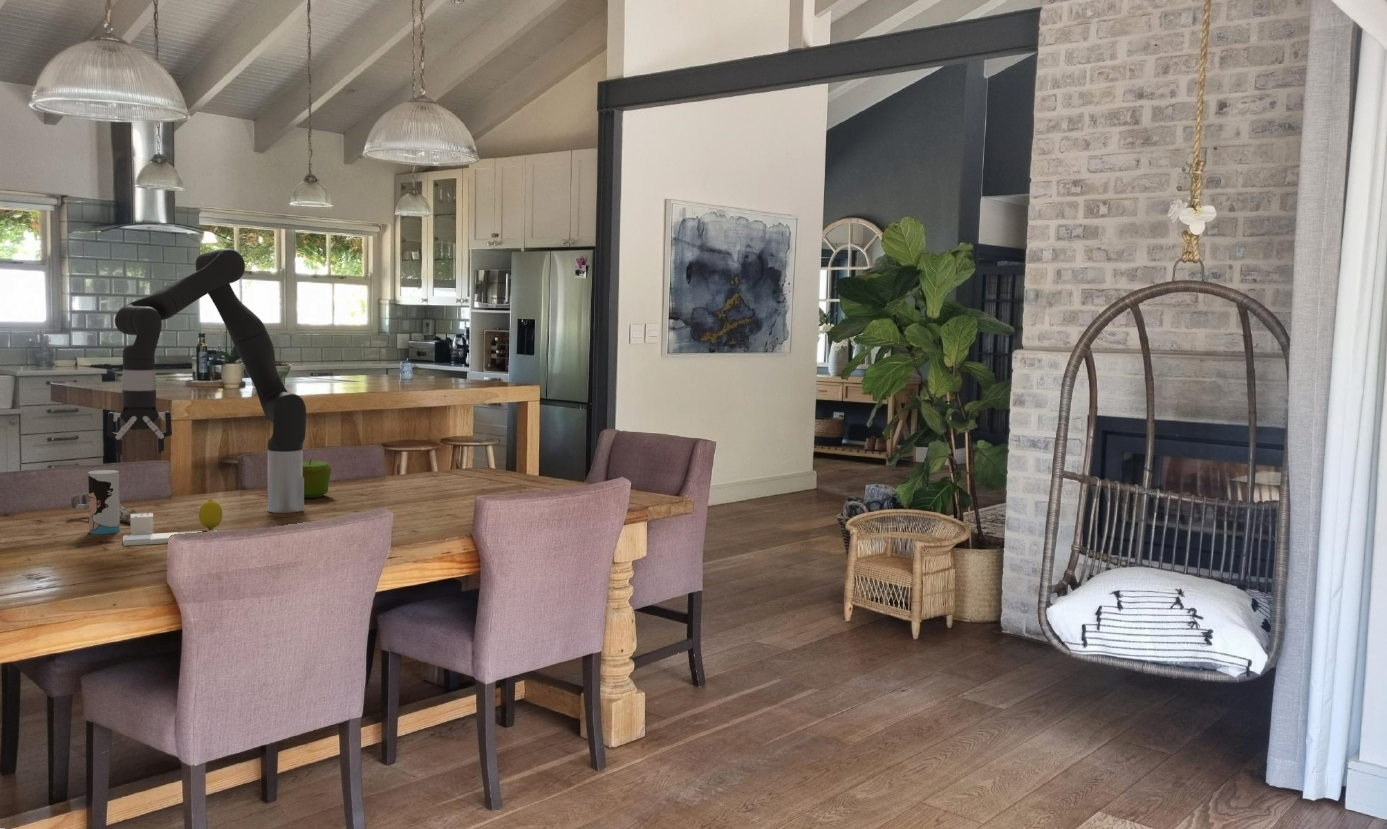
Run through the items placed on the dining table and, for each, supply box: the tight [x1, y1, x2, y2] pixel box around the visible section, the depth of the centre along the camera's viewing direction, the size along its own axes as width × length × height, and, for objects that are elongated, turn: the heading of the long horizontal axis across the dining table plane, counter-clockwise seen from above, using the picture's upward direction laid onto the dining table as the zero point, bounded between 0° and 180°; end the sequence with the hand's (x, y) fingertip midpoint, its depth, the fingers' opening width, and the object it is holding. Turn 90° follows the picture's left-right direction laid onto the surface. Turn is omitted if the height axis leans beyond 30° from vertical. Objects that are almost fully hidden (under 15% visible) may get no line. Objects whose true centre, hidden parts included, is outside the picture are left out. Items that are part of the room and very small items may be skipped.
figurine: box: [70, 492, 141, 524], centre depth 297 cm, size 6×6×20 cm
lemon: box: [198, 498, 224, 531], centre depth 288 cm, size 6×6×8 cm
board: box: [122, 529, 218, 547], centre depth 275 cm, size 24×7×1 cm, turn 117°
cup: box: [87, 469, 121, 535], centre depth 282 cm, size 7×7×15 cm
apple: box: [303, 459, 332, 499], centre depth 341 cm, size 12×12×11 cm
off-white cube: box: [129, 512, 154, 535], centre depth 280 cm, size 5×5×5 cm
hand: (140, 454), depth 278 cm, fingers open, 8 cm apart
